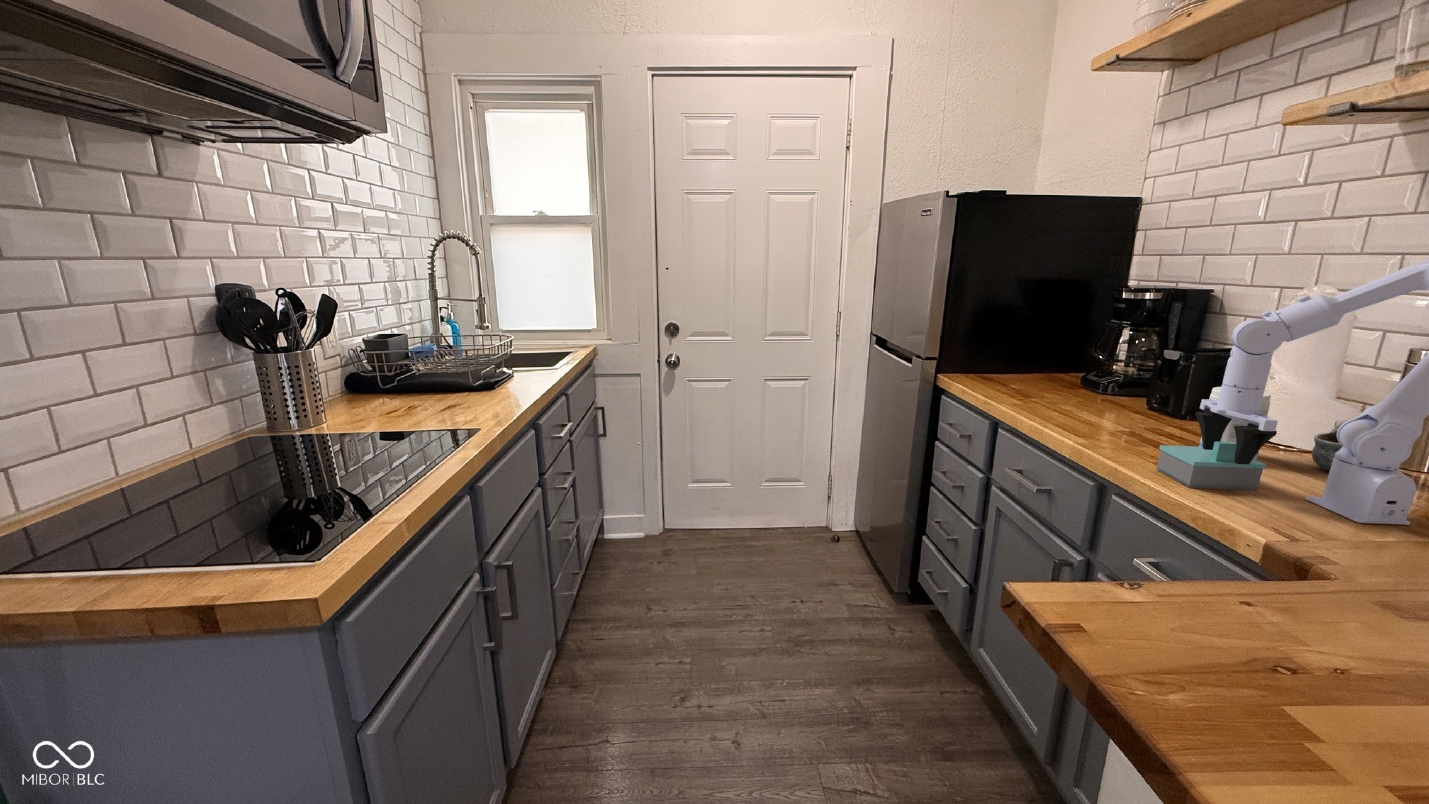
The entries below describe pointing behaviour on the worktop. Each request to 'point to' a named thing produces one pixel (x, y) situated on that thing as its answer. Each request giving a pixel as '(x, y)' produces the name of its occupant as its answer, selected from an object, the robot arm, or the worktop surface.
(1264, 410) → the supplement tub
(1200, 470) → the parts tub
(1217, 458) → the lid
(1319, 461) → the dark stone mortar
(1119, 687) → the worktop surface
